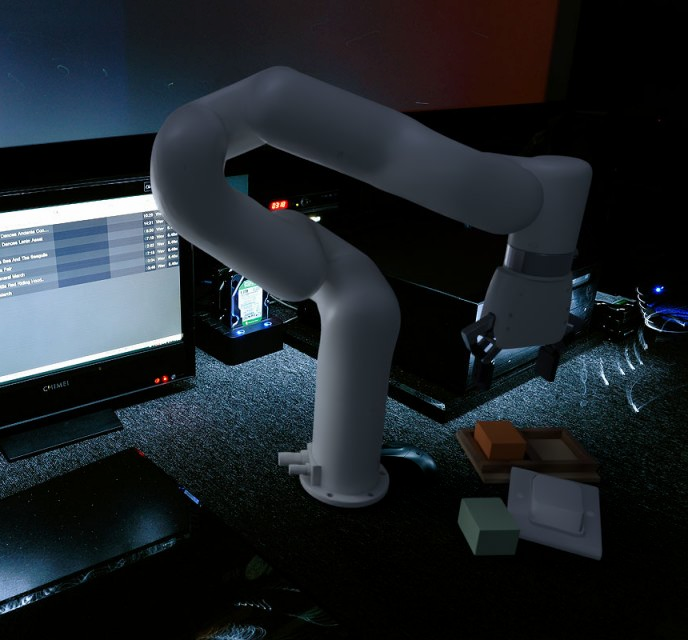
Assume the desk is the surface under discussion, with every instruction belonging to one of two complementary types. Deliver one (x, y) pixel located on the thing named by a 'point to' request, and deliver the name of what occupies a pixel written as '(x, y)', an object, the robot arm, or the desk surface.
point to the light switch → (556, 512)
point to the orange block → (499, 440)
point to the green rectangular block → (488, 526)
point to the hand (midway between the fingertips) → (512, 381)
